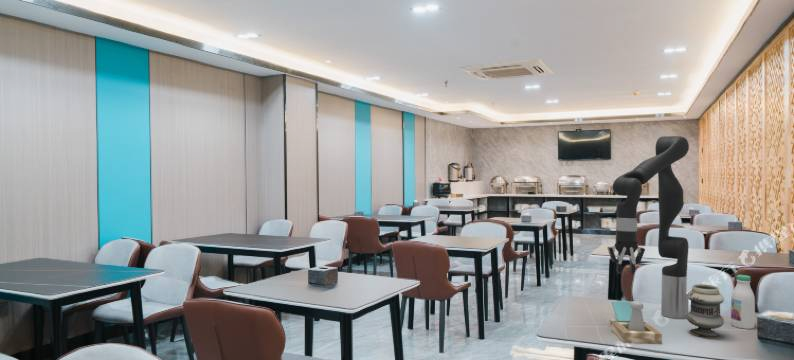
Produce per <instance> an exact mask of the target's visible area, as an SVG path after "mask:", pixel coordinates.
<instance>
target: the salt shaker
mask: <svg viewBox="0 0 794 360" xmlns="http://www.w3.org/2000/svg"><path fill="white" fill-rule="evenodd" d="M630 302H631V303H630V307H631V308H632V313H631V317H630V322H629V326H628V330H629V331H645V327H644V322H645V321H644V318H643V311H642V310H643V309H644V303H643V302H641V301H638V300H633V301H630Z"/></svg>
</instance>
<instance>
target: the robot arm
mask: <svg viewBox="0 0 794 360" xmlns="http://www.w3.org/2000/svg"><path fill="white" fill-rule="evenodd" d="M689 149H690V145H689V140H688V139H687V138H686V137H684V136H680V135H678V136H677V135H673V136H671V135H669V136H666V135H665V136H664V135H663V136H660V137H659V138H658V139H657V141H656V143H655V156H652V157H650V158H647V159H645V160H643V161H642V162H640V163H639V164H638V165H637V166H636V167H635V166H634V168H633V169H632V170H630V171H628V172H626V173H623V174H621V175H620V176H617V178H615V179H614V181H613V183H612V191H613V193H614V194H615V195H617V196H620V197H622V196H623V197H624V196H625V197H626V199H625V201H621V202H618V204H617V205H616V221H615V244H614V245H612V246H608V247H607V250H608V254H609V257H610V260H611V261H612V262H613V263H615V264H616V272H617V273H618V274H619V275H620V274H621V275H622V274H623V265H622V263H623V259H624V257H625V256H626V257H627V256H628V258H629V274H630V275H634V273H635V272H636V264H638V263H639V264H640V263H641V262H642V260H643V256H644V254H645V251H646V249H645V248H644V247H641V246H639V245H638V219H637V216H638V215H637V213H638V212H637V211H638V210H637V209H638V204H639V201H640V199H641V198H640V197H641V195H642V191H643V185H644V184H646V183H648V182H649V181H650V180H651V179H652V178H654V177H655V176H656V175H657V177H658V182H657V183H658V195H657V196H658V217H659V221H658V226H659V227H658V239H657V240H658V242H657V249H658V254H659V256H660V257H661V258H664V259H672V260H676V263H674V264H669V265H665V266H663V267H662V268H661V308H660V314H661V316H664V317H666V318H670V319H687V314H688V313H689V298H688V296H687V294H688V293H687V285H688V284H687V281H688V279H687V278H688V277H687V276H688V260H689V241H688V238H686V237H681V236H670V232H669V231H670V228H671V226H672V225H673V223H674V221H675V219H676V218H677V217H678V215H680V212H682V210H683V208H684V189H683V187H682V185H681V183H680V181H679V179H678V178H677V177H676V175H675V173H674V171H673V169H672V168H673V167H672V164H675V162H677V161H680V160H681V159H683V158H684V157H686V155H687V154H688V152H689ZM616 251H617V254H615V252H616ZM636 251H637V254H636V255H635V253H636ZM616 255H617V257H616Z"/></svg>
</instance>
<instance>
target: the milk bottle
mask: <svg viewBox="0 0 794 360" xmlns="http://www.w3.org/2000/svg"><path fill="white" fill-rule="evenodd" d="M751 279H752V278H751V276H750V275H745V274H738V275H736V286H735V287H734V289H733V291H732V293H731V301H730V303H731V304H730V305H731V306H730V324H731V326H733V327H735V328H739V329H747V330H749V329H750V330H751V329H754V328H755V321H756V319H755V317H756V313H755V312H756V300H755V299H756V298H755V294H754V291H753V289H752V288H751V284H750V283H751Z"/></svg>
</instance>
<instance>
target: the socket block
mask: <svg viewBox="0 0 794 360" xmlns="http://www.w3.org/2000/svg"><path fill="white" fill-rule="evenodd" d="M643 322H644V327H645V331H629V330H628V326H629V322H617V319H616V318H609V325H610V326H611V331H612V333H613V334H614V335H616V336H617V337H618V339H620V341H622V343H626V344H627V343H628V344H656V345H657V344H659V345H662V344H663V333H661V331H659V330H658V329H656V328H655V327H654V326H652V325H651V324H650V323H649V322H646V321H643Z"/></svg>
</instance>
